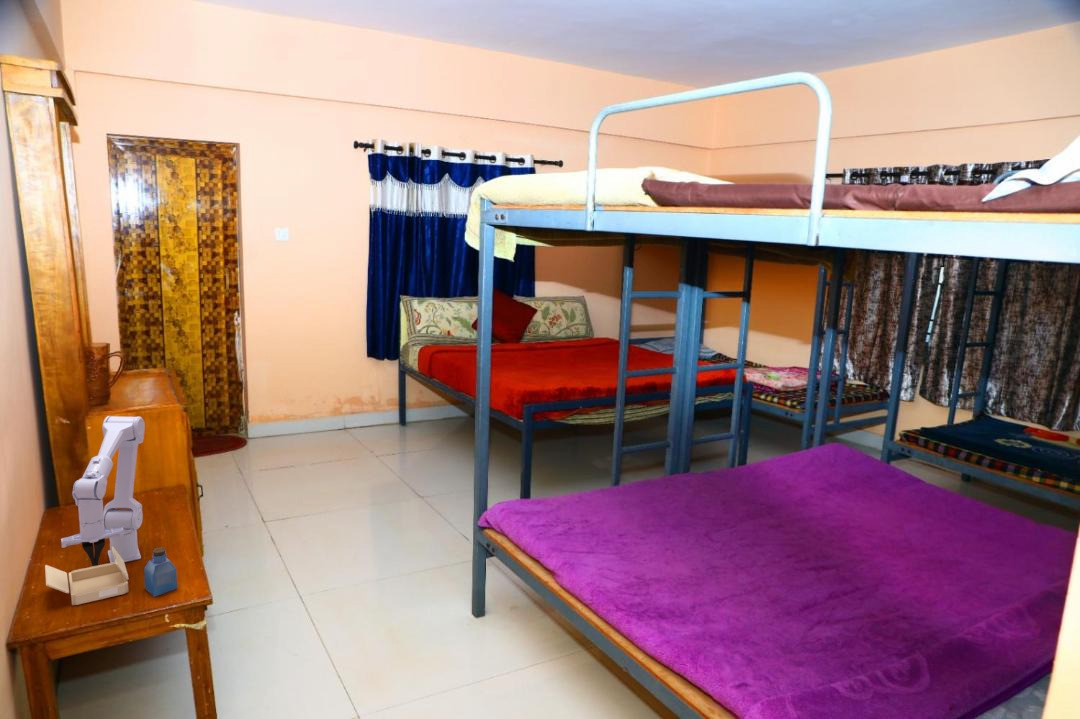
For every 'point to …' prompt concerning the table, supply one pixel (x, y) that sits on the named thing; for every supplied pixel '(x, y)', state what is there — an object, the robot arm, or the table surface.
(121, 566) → the flap
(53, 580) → the flap
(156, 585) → the perfume bottle
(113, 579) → the carton
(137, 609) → the table surface
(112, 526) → the robot arm
